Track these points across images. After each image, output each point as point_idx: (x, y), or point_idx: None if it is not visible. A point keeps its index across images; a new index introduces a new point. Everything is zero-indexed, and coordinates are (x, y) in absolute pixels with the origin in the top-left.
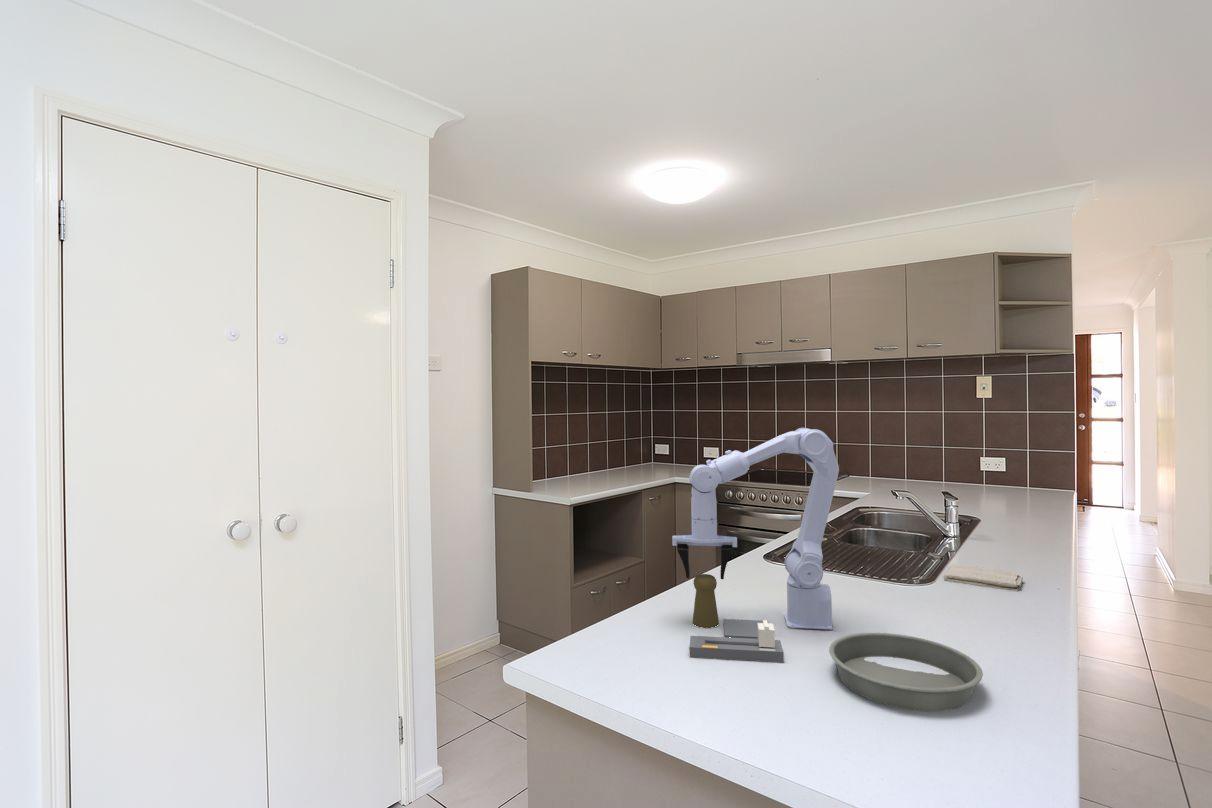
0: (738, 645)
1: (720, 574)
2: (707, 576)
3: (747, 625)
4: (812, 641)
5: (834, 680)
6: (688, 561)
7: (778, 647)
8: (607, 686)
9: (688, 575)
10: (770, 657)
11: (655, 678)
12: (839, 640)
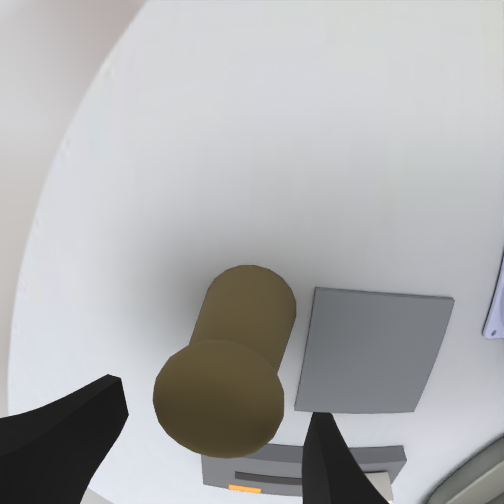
0: None
1: (314, 418)
2: (223, 448)
3: (382, 345)
4: (484, 397)
5: (421, 499)
6: (74, 446)
7: None
8: (115, 493)
9: (119, 425)
10: None
11: (165, 498)
12: (479, 482)
